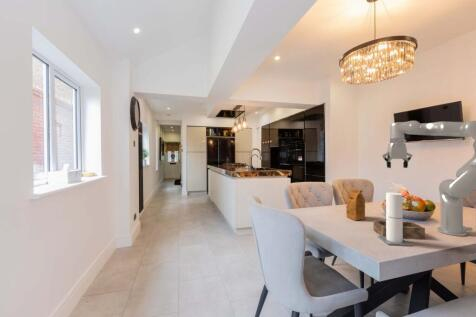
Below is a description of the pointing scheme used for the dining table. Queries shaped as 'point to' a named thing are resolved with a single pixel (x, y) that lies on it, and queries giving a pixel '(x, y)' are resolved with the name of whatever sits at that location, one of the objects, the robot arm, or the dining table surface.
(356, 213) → the coffee package
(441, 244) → the dining table surface
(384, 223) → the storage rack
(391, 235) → the cylindrical container
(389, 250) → the dining table surface
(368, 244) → the dining table surface
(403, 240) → the slate coaster
